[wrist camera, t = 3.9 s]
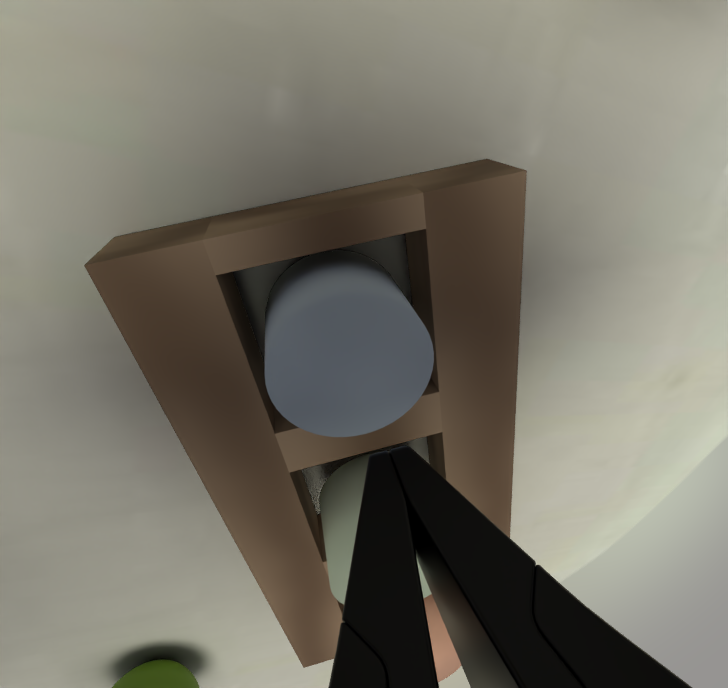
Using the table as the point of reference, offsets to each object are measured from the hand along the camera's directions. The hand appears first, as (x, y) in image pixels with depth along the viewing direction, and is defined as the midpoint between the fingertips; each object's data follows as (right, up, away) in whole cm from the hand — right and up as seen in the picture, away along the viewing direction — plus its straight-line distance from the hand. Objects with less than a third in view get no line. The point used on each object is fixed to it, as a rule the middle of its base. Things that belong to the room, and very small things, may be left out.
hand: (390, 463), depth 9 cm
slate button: (-2, +3, +6) cm, 7 cm away
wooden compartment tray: (0, -3, +11) cm, 11 cm away
